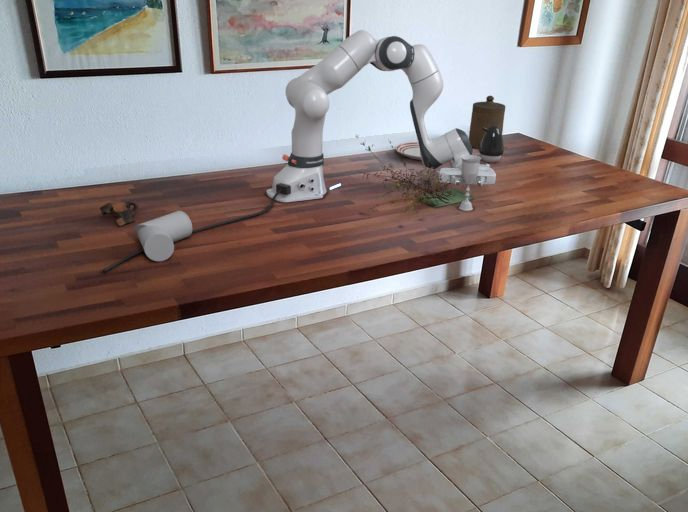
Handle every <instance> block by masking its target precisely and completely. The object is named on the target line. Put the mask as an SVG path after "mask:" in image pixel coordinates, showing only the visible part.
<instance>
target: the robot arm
mask: <svg viewBox="0 0 688 512" xmlns="http://www.w3.org/2000/svg"><path fill="white" fill-rule="evenodd" d="M369 64H370V65H371V66H373V67H374V68H376V69H377V70H379V71H380V72H381V71H383V72H394V71H398V70H401V71H403V73H404V74H405V75H406V77H407V79H408V82H409V84H410V87H411V90H412V98H411V100H410V101H409V109H410V114H411V119H412V123H413V126H414V131H415V134H416V139H417V142H418V143H419V147H420V156H421V160H422V161H421V163H422V162H423V161H424V162H423V163H422V164H423V166H424V167H427V168H428V169H430V168H431V167H433V168H432V169H431V170H436V169H438V168H439V167H441V166H443V165H444V164H446V163H448V162H450V167H441V168H440V169H438V170H436V174H437V175H438V176H439V177H438V178H440V176H441V175H442V176H441V178H440V179H442V181H443V182H444V183H443V182H442V181H441V180H439V181H440V183H443V184H446V183H450V182H451V184H454V186H460V185H466V186H467V184H465V183H464V180H463V177H462V172H461V170H462V158H461V157H462V156H464V155H473V152H474V149H473V147H472V146H471V143H470V141H469V136H468V135H467V133H466V131H464V130H462V129H461V128H456V127H455V128H454V129H451V130H449V131H446V132H445V133H444V134H442V135H440V136H438V137H436V138H434V139H429V136H428V133H427V127H426V123H425V115H426V113H427V111H428V110H429V109H430V108H431V107H432V105H434V104H435V102H436V101H437V100H438V99H439V97H440V96H441V94H442V92H443V89H444V80H443V77H442V74H441V71H440V69H439V67H438V64H437V62H436V60H435V59H434V57H433V55H432V53H431V52H430V50H429V49H428V48H427V46H426V45H424V44H419V43H418V44H413V45H412V44H411V43H409V42H407V41H406V40H405V39H404V38H402V37H400V36H397V35H391V36H386V37H382V38H380V39H376V38H374V36H373V35H372V34H371V33H370V32H369V31H367V30H364V29H359V30H357V31H356V32H354V33H352V34H351V35H349V36H348V37H347V38H346V37H345V39H344V40H343V41H341V42H340V43H339V44H338V45H336V47H335V48H334V49H332V51H331V52H329V54H327V55H326V56H325V57H324V58H323V59H322V60H320V61H319V62H318V63H317V64H315V65H313V66H312V67H310V68H309V69H308V70H306V71H305V72H303V73H301V74H300V75H298V76H297V77H294V78H293V79H291V80H290V81H288V82H287V84H286V87H285V92H284V93H285V97H286V100H287V102H288V104H289V105H290V106H291V107H292V109H294V113H295V114H294V122H293V126H292V129H291V152H290V155H287V154H283V155H282V156H281V157H282V158H281V159H282V160H283V161H285V162H287V164H286V165H285V166H284V167H283V168H282V169H281V170H280V171H278V172H277V174H275V175H274V176H273V179H272V184H271V185H272V186H271V188H268V189H266V195H267V196H268V198H270V199H271V200H270V204H269V205H268V207H266V208H265V209H263V210H261V211H257V212H255V213H250V214H247V215H243V216H240V217H236V218H233V219H229V220H225V221H221V222H217V223H212V224H209V225H206V226H202V227H199V228H195V229H192V234H195V233H199V232H202V231H206V230H208V229H213V228H217V227H219V226H224V225H227V224H232V223H235V222H239V221H242V220H246V219H249V218H253V217H257V216H259V215H262V214H264V213H267V212H268V211H269V210H270V209H271V208H272V206H273V205H274V202H275V201H276V202H280V203H294V202H301V201H302V202H303V201H310V200H319V199H323V198H324V195H326V193H327V192H328V190H327V187H326V183H325V175H324V163H325V162H324V161H325V159H324V152H323V134H324V126H325V121H326V116H327V115H326V114H327V112H328V111H329V108H330V98H329V96H328V95H330V94H331V93H333V92H335V91H337V90H339V89H341V88H343V87H344V86H346V85H347V83H348V82H350V81H351V80H352V79H353V78H354V77H355V76H356V75H357V74H358V73H359V72H361V70H363V68H365V67H366V66H367V65H369ZM429 156H430V157H429ZM429 160H430V161H429ZM428 161H429V162H428ZM427 165H428V166H429V167H428V166H427ZM427 168H426V169H427ZM442 173H443V174H442ZM444 176H445V177H444ZM447 179H448V181H447ZM496 180H497V174H496V172H495V170H494V169H493V168H492V167H491V165H490V163H487V162H481V161H480V163H479V172H478V174H477V177H476V179H475V180H474V182H473V184H472V185H477V186H478V187H482V186H483V185H486V186H487V185H488V186H489V185H495V184H496ZM439 181H438V182H439ZM446 181H447V182H446ZM445 182H446V183H445ZM341 186H342V184H341V183H338V184H335V185H333V186H330V187H329V190H333V189H336V188H338V187H341ZM143 253H145V251H144V249H143V248H141V249H139V250H136V251H135V252H133V253H131V254H129V255H126V256H125V257H123V258H122V259H120V260H117V261H116V262H113V263H112V264H110V265H108V266H107V267H105V268H103V269H102V272H103V273H106V272H108V271H110V270H111V269H114V268H115V267H117V266H119V265H120V264H123V263H124V262H126V261H128V260H130V259H132V258H133V257H136V256H137V255H140V254H143Z"/></svg>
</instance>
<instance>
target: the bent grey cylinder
mask: <svg viewBox="0 0 688 512" xmlns="http://www.w3.org/2000/svg"><path fill="white" fill-rule="evenodd" d="M192 230H193V224H192V221H191V219H190V217H189V215H188V214H187V213H186V212H184V211H182V210H176V211H174V212H171V213H168V214H165V215H161V216H160V217H156V218H154V219H151V220H150V219H149V220H147V221H145V222H142V223H139V224H136V225H134V226H133V231H134V232H135V233H136V234H137V238H138V240H139V242H140V244H141V247H142V249H144V253H145V255H146V257H147V258H148V259H149V260H151V261H154V262H164V261H167V260H168V259H169V258H171V256H172V255H173V253H174V251H175V244H174V243H176V242H179V241H181V240H184V239H186V238H188V237H191V236H192V234H193V233H192Z"/></svg>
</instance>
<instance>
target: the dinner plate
mask: <svg viewBox="0 0 688 512" xmlns="http://www.w3.org/2000/svg"><path fill="white" fill-rule="evenodd" d="M394 147H395V148H394V150H395V149H396V153H397V152H398V153H399V154H400V155H402V156H404V157H407V158H408V159H411V160H415V161H420V162H422V160H421V156H420V147H419V143H418V141H410V142H409V141H408V142H403V143H399V144H397V145H395V146H394Z"/></svg>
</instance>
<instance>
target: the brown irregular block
mask: <svg viewBox="0 0 688 512" xmlns="http://www.w3.org/2000/svg"><path fill="white" fill-rule="evenodd" d="M131 206H133V208H132V210H131ZM99 210H100V216H101V217H104V216H105V215H111V216H112V217H114V218H116V217H118V215H119V216H120V218H118V219H116V223H117V225H118V226H119V227H122V226H124V225H126V224H129V223H132V222H133V218H134V215H135V214H137V212H138V210H139V204H138V203H137V201H135V200H128V201H126V202H124V201H122V199H121V198H117V199H115V200H111V201H110V202H108V203H105V204H104V205H102V206H100V207H99Z"/></svg>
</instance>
